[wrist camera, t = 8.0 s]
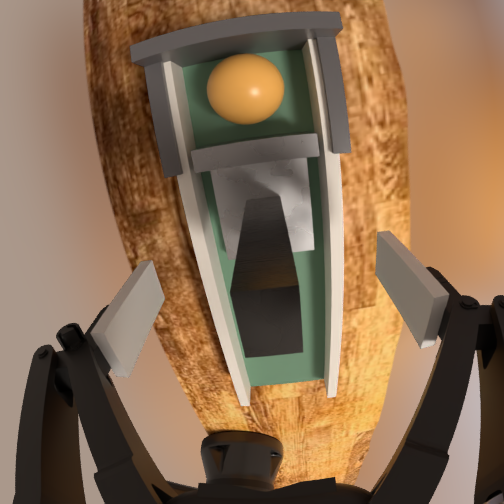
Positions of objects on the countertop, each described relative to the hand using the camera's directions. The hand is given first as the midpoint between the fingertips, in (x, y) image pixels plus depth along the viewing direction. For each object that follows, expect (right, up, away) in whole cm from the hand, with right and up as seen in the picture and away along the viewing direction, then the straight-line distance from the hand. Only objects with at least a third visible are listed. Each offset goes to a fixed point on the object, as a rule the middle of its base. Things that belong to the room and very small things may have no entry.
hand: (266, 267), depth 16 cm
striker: (0, +5, +6) cm, 8 cm away
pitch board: (+1, +2, +10) cm, 10 cm away
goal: (-1, +12, +4) cm, 13 cm away
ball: (-1, +11, 0) cm, 11 cm away
